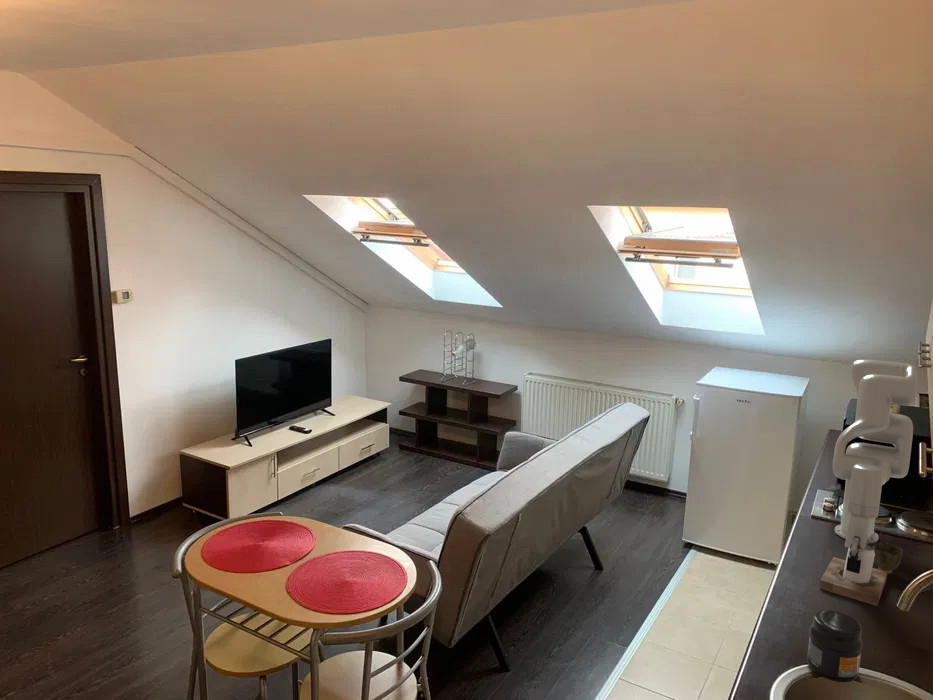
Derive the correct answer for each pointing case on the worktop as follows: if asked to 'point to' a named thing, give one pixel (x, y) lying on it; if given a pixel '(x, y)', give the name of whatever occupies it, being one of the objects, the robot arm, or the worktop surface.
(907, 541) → the worktop surface
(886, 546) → the cup
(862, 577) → the can
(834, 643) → the supplement container
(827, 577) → the hole plate
